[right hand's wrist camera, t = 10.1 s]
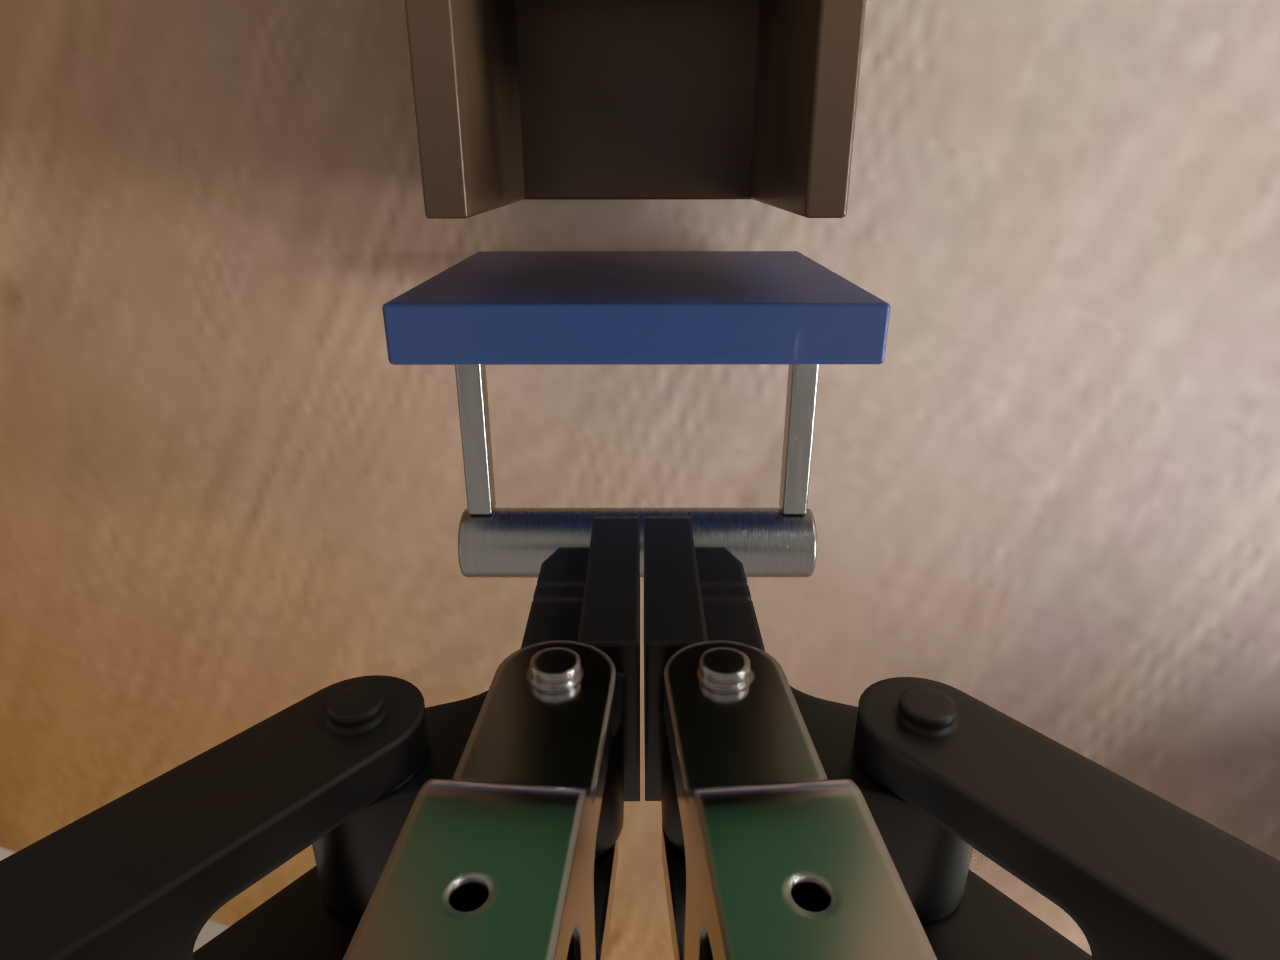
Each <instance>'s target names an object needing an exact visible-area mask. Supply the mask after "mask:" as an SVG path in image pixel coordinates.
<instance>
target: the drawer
mask: <svg viewBox="0 0 1280 960" xmlns="http://www.w3.org/2000/svg"><path fill="white" fill-rule="evenodd" d="M865 6H866V0H405V8H406V18H407V29H408V39H409V49H410V60H411V70H412V80H413V90H414V101H415V111H416V121H417V132H418V142H419V152H420V163H421V173H422V183H423V194H424V204H425V214H426V217H427V218H467V217H471V216H474V215H477V214H480V213H483V212H486V211H489V210H492V209H495V208H498V207H502V206H505V205H508V204H511V203H514V202H517V201H520V200H523V199H753V200H756V201H759V202H762V203H765V204H768V205H771V206H774V207H777V208H780V209H783V210H786V211H789V212H792V213H795V214H798V215H801V216H804V217H807V218H842V217H845V215H846V213H847V203H848V192H849V181H850V170H851V159H852V148H853V137H854V126H855V115H856V105H857V94H858V83H859V72H860V61H861V50H862V39H863V28H864V17H865ZM889 314H890V305H889V304H888V303H886V302H885V301H883V300H881V299H879V298H878V297H876V296H874V295H872V294H871V293H869V292H867V291H865V290H864V289H862V288H860V287H858V286H857V285H855V284H853V283H851V282H850V281H848V280H846V279H844V278H843V277H841V276H839V275H837V274H836V273H834V272H832V271H830V270H829V269H827V268H825V267H823V266H822V265H820V264H818V263H816V262H815V261H813V260H811V259H809V258H808V257H806V256H804V255H802V254H801V253H799V252H797V251H730V252H477V253H475V254H474V255H472V256H470V257H468V258H466V259H465V260H463V261H461V262H459V263H457V264H456V265H454V266H452V267H450V268H448V269H447V270H445V271H443V272H441V273H439V274H438V275H436V276H434V277H432V278H430V279H429V280H427V281H425V282H423V283H421V284H420V285H418V286H416V287H414V288H412V289H411V290H409V291H407V292H405V293H403V294H402V295H400V296H398V297H396V298H394V299H393V300H391V301H389V302H387V303H385V304H384V305H383V316H384V325H385V333H386V341H387V349H388V358H389V361H390V363H391V364H394V365H444V364H455V371H456V383H457V394H458V405H459V416H460V427H461V438H462V449H463V460H464V472H465V483H466V494H467V505H468V509H465V510H464V512H463V514H462V517H461V520H460V525H459V533H458V557H459V564H460V568H461V571H462V574H463V575H464V576H466V577H539V573H540V569H541V565H542V563H543V562H544V561H545V560H546V559H547V558H548V557H549V556H550V555H552V554H553V553H554V552H555V551H556V550H557V549H558V548H559V547H590V541H591V533H592V526H593V518H594V517H640V577H644V517H690V518H691V524H692V531H693V538H694V545H695V547H725V548H726V549H727V550H728V551H729V552H731V553H732V554H733V555H734V556H735V557H736V558H737V559H738V560H739V561H740V562H742V564H743V568H744V571H745V575H746V577H809V576H811V575H812V573H813V571H814V567H815V563H816V554H817V536H816V526H815V521H814V517H813V514H812V512H811V510H810V509H808V508H807V502H808V490H809V478H810V467H811V455H812V443H813V431H814V419H815V408H816V396H817V384H818V372H819V364H881V363H883V361H884V357H885V349H886V340H887V331H888V323H889ZM485 364H789V372H788V387H787V401H786V415H785V429H784V443H783V457H782V472H781V486H780V500H779V505H780V508H495V505H496V502H495V489H494V475H493V462H492V449H491V435H490V422H489V409H488V396H487V382H486V369H485Z"/></svg>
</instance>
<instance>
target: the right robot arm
mask: <svg viewBox="0 0 1280 960" xmlns="http://www.w3.org/2000/svg"><path fill="white" fill-rule="evenodd" d="M533 598H534V600H533V601H532V605H531V610H530V614H529V618H528V622H527V626H526V630H525V634H524V638H523V642H522V646H521V649H520V650H518V651H516V652H514V653H513V654H511V655H510V656H508V657H507V658H506V659H505V660H504V661H503V662H502V663H501V664H500V666H499V667H498V669H497V671H496V673H495V676H494V678H493V681H492V683H491V686H490V688H489V690H488V691H486V692H484V693H482V694H479V695H476V696H474V697H471V698H468V699H464V700H460V701H456V702H451V703H446V704H442V705H437V706H432V707H428V708H425V705H424V698H423V696H422V693H421V692H420V691H419V690H418V688H417V687H415V686H414V685H413V684H411V683H410V682H408V681H405V680H403V679H400V678H396V677H390V676H376V675H375V676H363V677H357V678H352V679H348V680H344V681H341V682H338V683H335V684H333V685H330V686H328V687H326V688H324V689H322V690H320V691H318V692H316V693H314V694H312V695H310V696H309V697H307V698H305V699H303V700H301V701H299V702H297V703H296V704H294V705H292V706H290V707H288V708H286V709H284V710H282V711H281V712H279V713H277V714H275V715H273V716H271V717H269V718H267V719H266V720H264V721H262V722H260V723H258V724H256V725H254V726H252V727H251V728H249V729H247V730H245V731H243V732H241V733H239V734H237V735H236V736H234V737H232V738H230V739H228V740H226V741H224V742H223V743H221V744H219V745H217V746H215V747H213V748H211V749H209V750H208V751H206V752H204V753H202V754H200V755H198V756H196V757H194V758H193V759H191V760H189V761H187V762H185V763H183V764H181V765H179V766H178V767H176V768H174V769H172V770H170V771H168V772H166V773H164V774H163V775H161V776H159V777H157V778H155V779H153V780H151V781H149V782H148V783H146V784H144V785H142V786H140V787H138V788H136V789H135V790H133V791H131V792H129V793H127V794H125V795H123V796H121V797H120V798H118V799H116V800H114V801H112V802H110V803H108V804H106V805H105V806H103V807H101V808H99V809H97V810H95V811H93V812H91V813H90V814H88V815H86V816H84V817H82V818H80V819H78V820H76V821H75V822H73V823H71V824H69V825H67V826H65V827H63V828H62V829H60V830H58V831H56V832H54V833H52V834H50V835H48V836H47V837H45V838H43V839H41V840H39V841H37V842H35V843H33V844H32V845H30V846H28V847H26V848H24V849H22V850H20V851H18V852H17V853H15V854H13V855H11V856H9V857H7V858H5V859H3V860H2V861H0V960H605V959H606V951H607V943H608V935H609V927H610V919H611V911H612V902H613V894H614V886H615V878H616V870H617V862H618V837H619V835H620V833H621V830H622V826H623V811H624V801H640V517H594V518H593V526H592V533H591V541H590V547H559V548H558V549H557V550H556V551H555V552H554V553H553V554H552V555H550V556H549V557H548V558H547V559H546V560H545V561H544V562H543V563H542V565H541V569H540V573H539V577H538V581H537V586H536V589H535V593H534V597H533ZM644 717H645V801H662V862H663V870H664V878H665V886H666V894H667V902H668V911H669V919H670V927H671V935H672V943H673V951H674V959H675V960H1280V861H1278V860H1277V859H1275V858H1273V857H1271V856H1269V855H1267V854H1265V853H1263V852H1262V851H1260V850H1258V849H1256V848H1254V847H1252V846H1250V845H1248V844H1247V843H1245V842H1243V841H1241V840H1239V839H1237V838H1235V837H1234V836H1232V835H1230V834H1228V833H1226V832H1224V831H1222V830H1220V829H1219V828H1217V827H1215V826H1213V825H1211V824H1209V823H1207V822H1205V821H1204V820H1202V819H1200V818H1198V817H1196V816H1194V815H1192V814H1190V813H1189V812H1187V811H1185V810H1183V809H1181V808H1179V807H1177V806H1175V805H1174V804H1172V803H1170V802H1168V801H1166V800H1164V799H1162V798H1160V797H1159V796H1157V795H1155V794H1153V793H1151V792H1149V791H1147V790H1146V789H1144V788H1142V787H1140V786H1138V785H1136V784H1134V783H1132V782H1131V781H1129V780H1127V779H1125V778H1123V777H1121V776H1119V775H1117V774H1116V773H1114V772H1112V771H1110V770H1108V769H1106V768H1104V767H1102V766H1101V765H1099V764H1097V763H1095V762H1093V761H1091V760H1089V759H1087V758H1086V757H1084V756H1082V755H1080V754H1078V753H1076V752H1074V751H1072V750H1071V749H1069V748H1067V747H1065V746H1063V745H1061V744H1059V743H1058V742H1056V741H1054V740H1052V739H1050V738H1048V737H1046V736H1044V735H1043V734H1041V733H1039V732H1037V731H1035V730H1033V729H1031V728H1029V727H1028V726H1026V725H1024V724H1022V723H1020V722H1018V721H1016V720H1014V719H1013V718H1011V717H1009V716H1007V715H1005V714H1003V713H1001V712H999V711H998V710H996V709H994V708H992V707H990V706H988V705H986V704H985V703H983V702H981V701H979V700H977V699H975V698H973V697H971V696H970V695H968V694H966V693H964V692H962V691H960V690H958V689H956V688H954V687H951V686H949V685H946V684H943V683H940V682H936V681H933V680H928V679H922V678H914V677H896V678H890V679H885V680H882V681H879V682H877V683H875V684H872V685H871V686H870V687H868V688H867V689H866V690H865V691H864V692H863V694H862V695H861V697H860V700H859V705H858V707H855V706H850V705H845V704H841V703H836V702H831V701H827V700H823V699H819V698H815V697H813V696H810V695H807V694H805V693H802V692H800V691H798V690H796V689H794V688H793V687H791V686H789V683H788V681H787V678H786V676H785V673H784V671H783V669H782V667H781V666H780V664H779V663H778V662H777V661H776V660H775V659H774V658H773V657H772V656H770V655H769V654H767V653H766V652H765V650H764V646H763V642H762V638H761V634H760V630H759V626H758V622H757V618H756V614H755V611H754V607H753V603H752V601H751V595H750V591H749V587H748V585H747V579H746V575H745V571H744V568H743V564H742V562H740V561H739V560H738V559H737V558H736V557H735V556H734V555H733V554H732V553H731V552H729V551H728V550H727V549H726V548H725V547H695V545H694V538H693V531H692V524H691V518H690V517H644ZM311 844H312V846H313V850H314V855H315V860H316V866H315V867H314V868H312V869H311V870H309V871H308V872H307V873H305V874H304V875H302V876H301V877H300V878H298V879H297V880H295V881H294V882H292V883H291V884H290V885H288V886H287V887H285V888H284V889H283V890H281V891H280V892H278V893H277V894H276V895H274V896H273V897H271V898H270V899H268V900H267V901H266V902H264V903H263V904H261V905H260V906H259V907H257V908H256V909H254V910H253V911H252V912H250V913H249V914H247V915H246V916H245V917H243V918H242V919H240V920H239V921H237V922H236V923H235V924H233V925H232V926H230V927H229V928H228V929H226V930H225V931H223V932H222V933H221V934H219V935H218V936H216V937H215V938H213V939H212V940H211V941H209V942H208V943H206V944H205V945H204V946H202V947H201V948H199V949H198V950H197V951H195V952H194V953H193V948H194V944H195V941H196V939H197V936H198V934H199V933H200V931H201V929H202V927H203V926H204V925H205V923H206V922H207V921H208V919H209V918H210V917H211V916H212V915H213V914H214V913H215V912H216V911H217V910H218V909H219V908H220V907H221V906H223V905H224V904H225V903H227V902H228V901H229V900H231V899H232V898H234V897H235V896H237V895H238V894H240V893H241V892H243V891H244V890H245V889H247V888H248V887H250V886H251V885H253V884H254V883H256V882H257V881H259V880H260V879H262V878H263V877H264V876H266V875H267V874H269V873H270V872H272V871H273V870H275V869H276V868H278V867H279V866H281V865H282V864H283V863H285V862H286V861H288V860H289V859H291V858H292V857H294V856H295V855H297V854H298V853H300V852H301V851H302V850H304V849H305V848H307V847H308V846H310V845H311ZM973 848H975V849H976V850H978V851H979V852H980V853H982V854H983V855H985V856H986V857H988V858H989V859H991V860H992V861H994V862H995V863H997V864H998V865H999V866H1001V867H1002V868H1004V869H1005V870H1007V871H1008V872H1010V873H1011V874H1013V875H1014V876H1016V877H1017V878H1018V879H1020V880H1021V881H1023V882H1024V883H1026V884H1027V885H1029V886H1030V887H1032V888H1033V889H1035V890H1036V891H1037V892H1039V893H1040V894H1042V895H1043V896H1045V897H1046V898H1048V899H1049V900H1051V901H1052V902H1054V903H1055V904H1056V905H1058V906H1059V907H1060V908H1062V909H1063V910H1064V911H1065V912H1066V913H1068V914H1069V915H1070V916H1071V917H1072V919H1073V920H1074V921H1075V922H1076V923H1077V924H1078V926H1079V927H1080V928H1081V930H1082V931H1083V933H1084V935H1085V937H1086V938H1087V941H1088V943H1089V945H1090V949H1091V953H1092V956H1091V955H1089V954H1088V953H1086V952H1085V951H1083V950H1082V949H1081V948H1079V947H1078V946H1076V945H1075V944H1074V943H1072V942H1071V941H1069V940H1068V939H1067V938H1065V937H1064V936H1062V935H1061V934H1059V933H1058V932H1057V931H1055V930H1054V929H1052V928H1051V927H1050V926H1048V925H1047V924H1045V923H1044V922H1043V921H1041V920H1040V919H1038V918H1037V917H1036V916H1034V915H1033V914H1031V913H1030V912H1028V911H1027V910H1026V909H1024V908H1023V907H1021V906H1020V905H1019V904H1017V903H1016V902H1014V901H1013V900H1012V899H1010V898H1009V897H1007V896H1006V895H1004V894H1003V893H1002V892H1000V891H999V890H997V889H996V888H995V887H993V886H992V885H990V884H989V883H988V882H986V881H985V880H983V879H982V878H980V877H979V876H978V875H976V874H975V873H973V872H972V871H971V870H969V865H970V860H971V855H972V851H973Z"/></svg>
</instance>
